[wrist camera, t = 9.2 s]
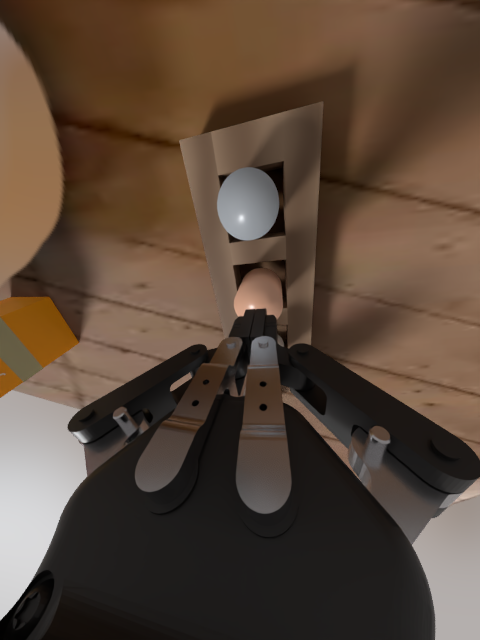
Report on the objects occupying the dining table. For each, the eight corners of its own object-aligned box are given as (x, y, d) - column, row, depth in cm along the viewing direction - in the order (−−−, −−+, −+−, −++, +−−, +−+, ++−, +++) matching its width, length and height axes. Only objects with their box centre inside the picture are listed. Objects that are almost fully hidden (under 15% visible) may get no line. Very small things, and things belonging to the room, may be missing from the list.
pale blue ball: (277, 171, 14) (277, 160, 11) (279, 229, 16) (280, 236, 13) (225, 181, 15) (211, 175, 11) (233, 236, 17) (223, 243, 13)
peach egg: (280, 265, 17) (282, 280, 14) (282, 304, 19) (283, 325, 16) (238, 270, 18) (230, 284, 15) (244, 307, 20) (237, 327, 17)
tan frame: (315, 119, 14) (323, 100, 12) (306, 357, 26) (309, 373, 24) (194, 150, 16) (179, 140, 14) (236, 357, 28) (232, 372, 26)
